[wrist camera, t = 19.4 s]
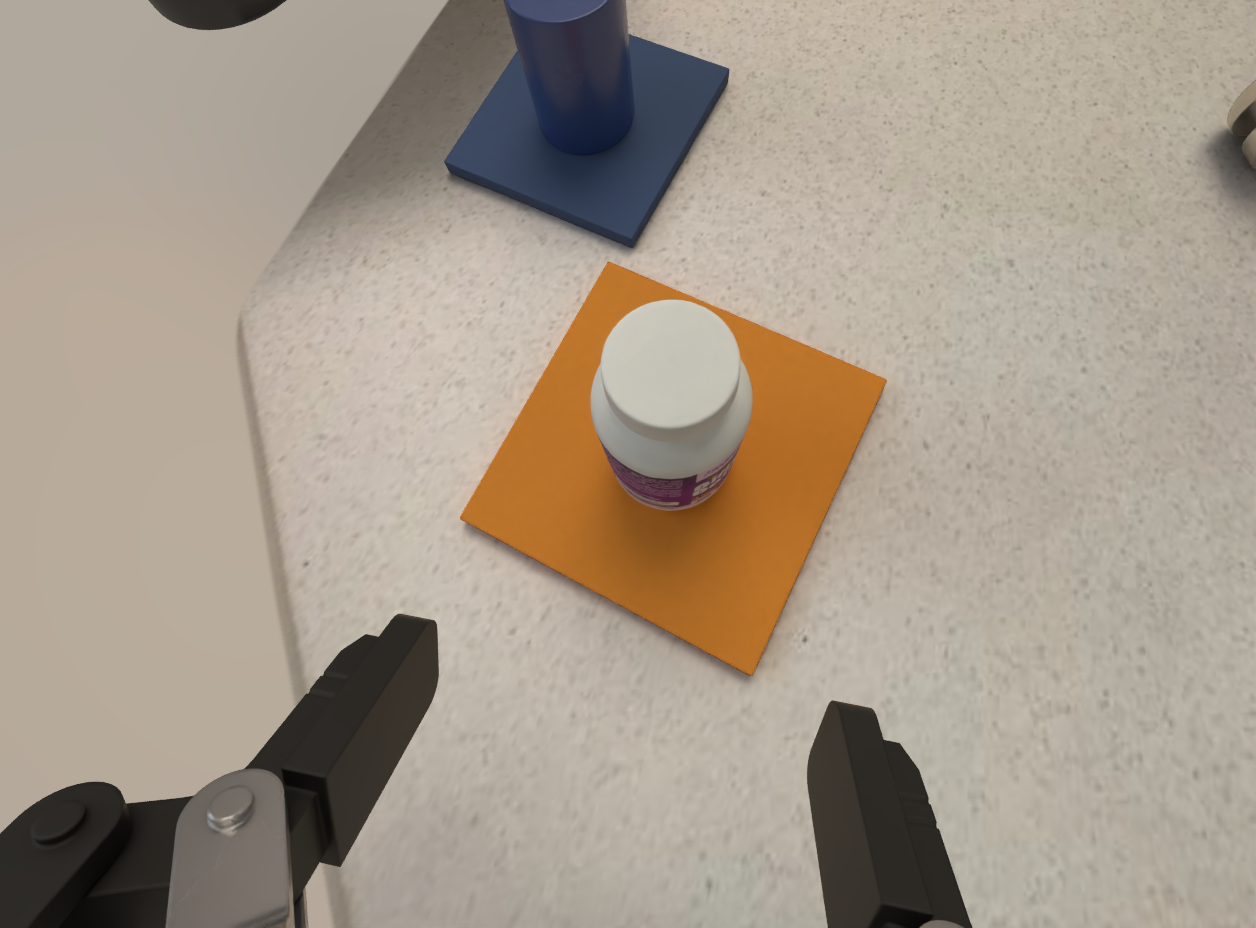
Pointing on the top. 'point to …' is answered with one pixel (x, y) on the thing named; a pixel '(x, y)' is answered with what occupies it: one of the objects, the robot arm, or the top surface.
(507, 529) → the amber mat
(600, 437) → the pill bottle
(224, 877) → the robot arm
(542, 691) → the top surface
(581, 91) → the blue tin
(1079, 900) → the top surface
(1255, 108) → the grooved metal pulley
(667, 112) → the blue mat
